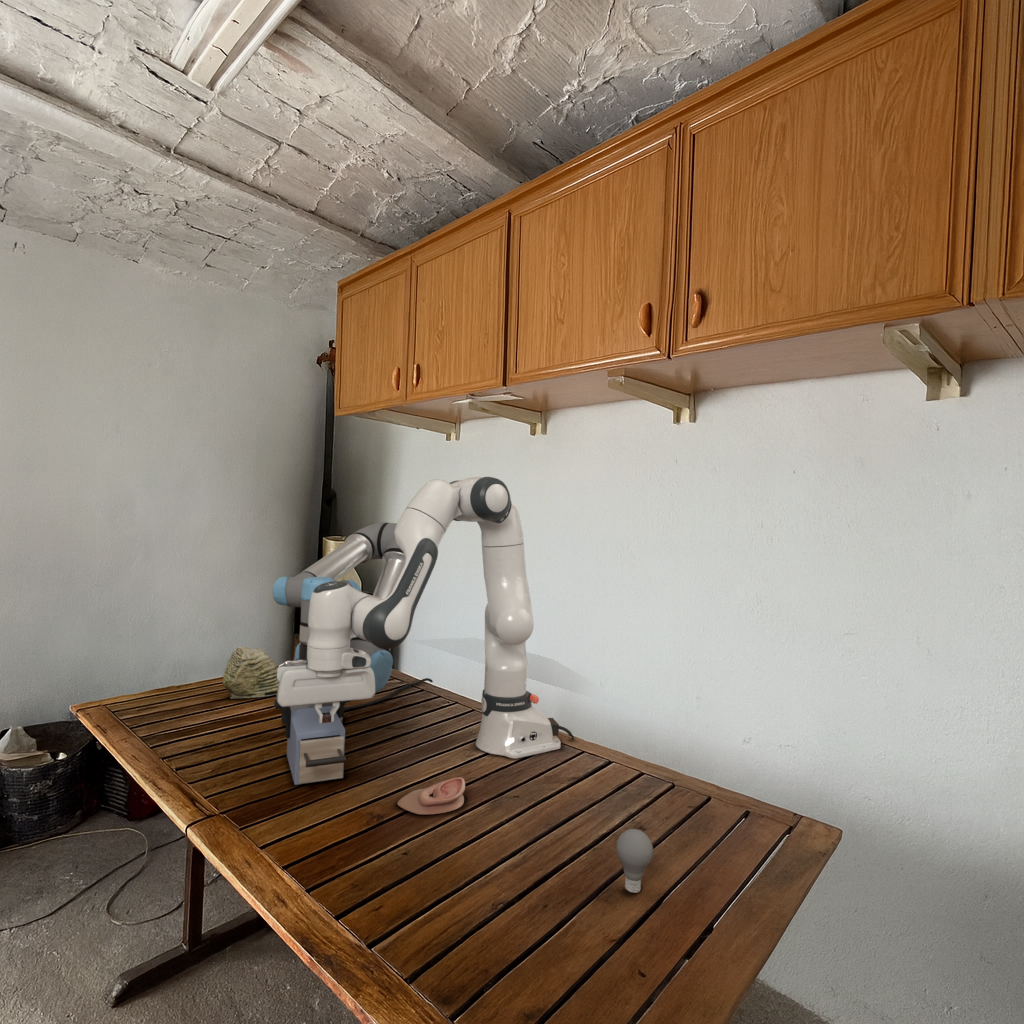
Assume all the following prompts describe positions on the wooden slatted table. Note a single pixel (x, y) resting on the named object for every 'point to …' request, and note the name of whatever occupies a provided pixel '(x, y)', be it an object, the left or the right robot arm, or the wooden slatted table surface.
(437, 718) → the wooden slatted table surface
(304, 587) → the left robot arm
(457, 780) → the anatomical model
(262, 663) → the fossil
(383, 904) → the wooden slatted table surface
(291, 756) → the cabinet
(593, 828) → the wooden slatted table surface
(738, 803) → the wooden slatted table surface
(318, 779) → the drawer
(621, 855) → the light bulb
